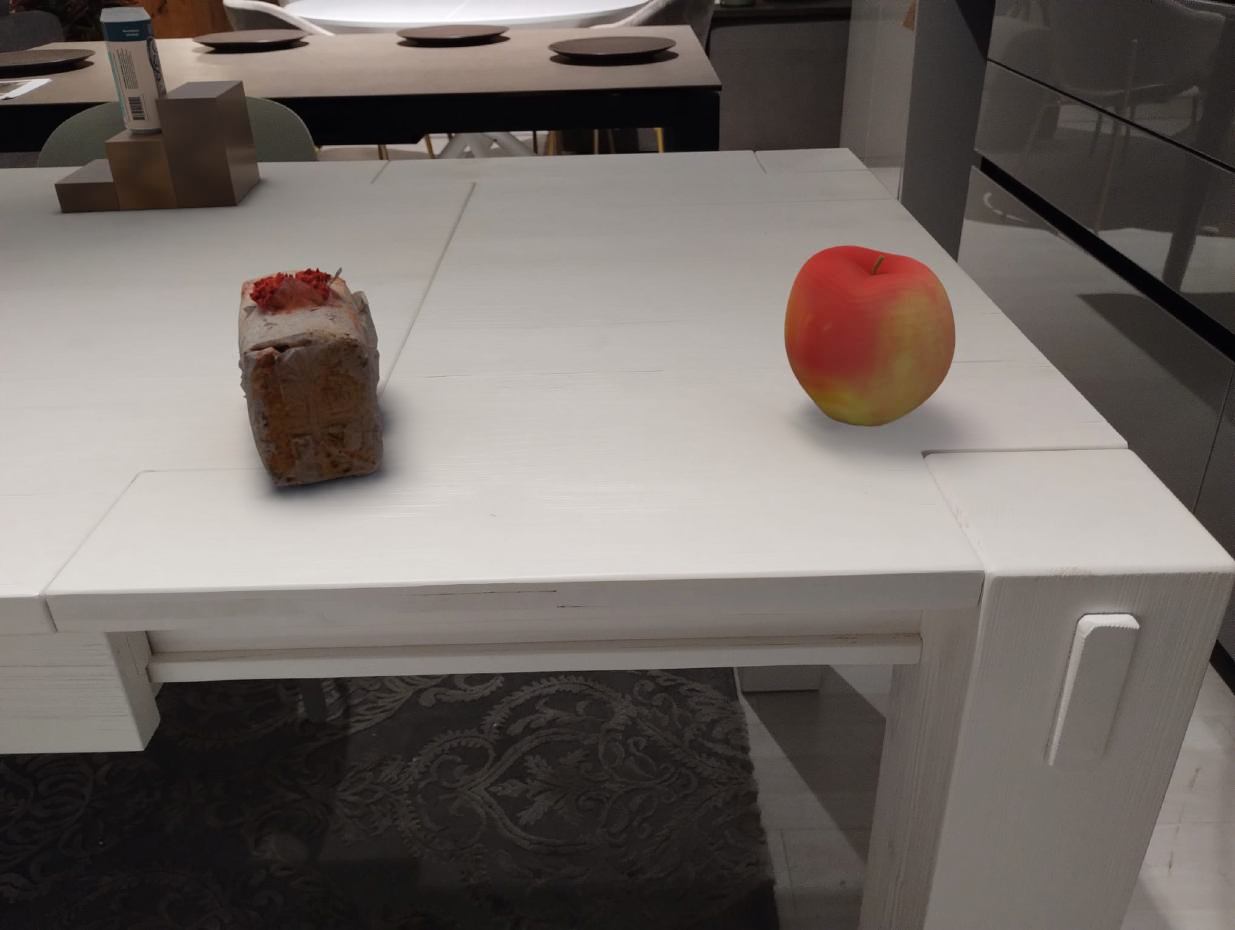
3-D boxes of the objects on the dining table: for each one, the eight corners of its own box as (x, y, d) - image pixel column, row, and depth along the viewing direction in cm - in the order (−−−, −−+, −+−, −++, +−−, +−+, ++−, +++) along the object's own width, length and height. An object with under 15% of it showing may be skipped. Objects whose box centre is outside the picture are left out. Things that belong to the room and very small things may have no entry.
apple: (770, 445, 58) (781, 276, 53) (784, 379, 66) (795, 227, 61) (945, 461, 56) (973, 287, 51) (937, 390, 64) (961, 235, 59)
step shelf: (61, 212, 107) (30, 103, 101) (101, 185, 117) (75, 85, 112) (236, 205, 108) (215, 97, 103) (260, 179, 118) (242, 80, 113)
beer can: (182, 129, 109) (156, 7, 103) (138, 136, 106) (109, 11, 100) (162, 124, 112) (135, 5, 106) (119, 130, 109) (89, 9, 103)
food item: (249, 397, 65) (218, 246, 60) (375, 378, 67) (354, 231, 62) (259, 498, 54) (221, 322, 49) (410, 471, 56) (388, 300, 51)
